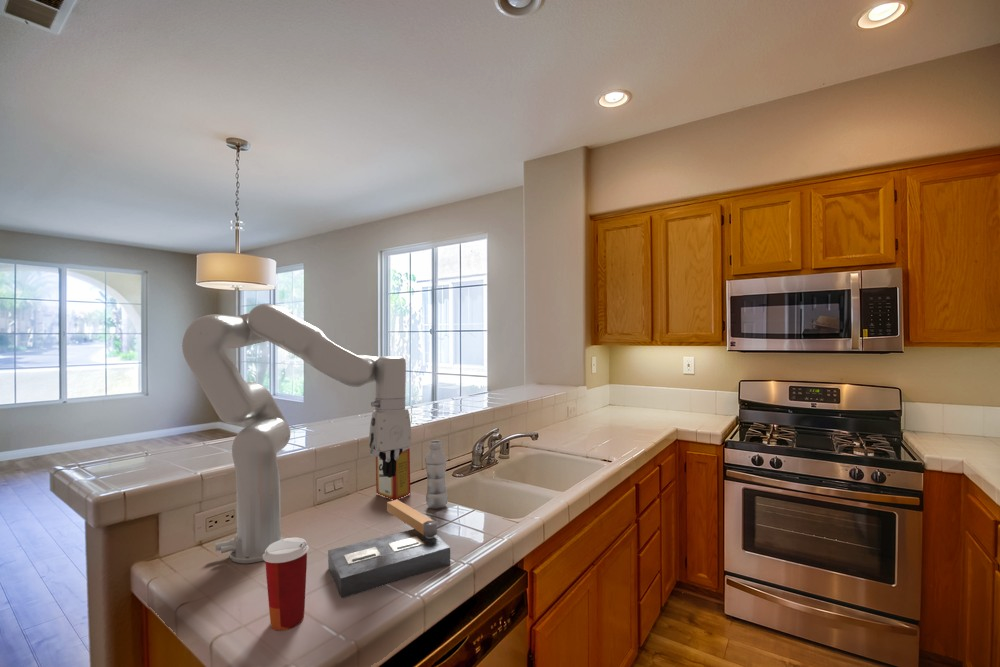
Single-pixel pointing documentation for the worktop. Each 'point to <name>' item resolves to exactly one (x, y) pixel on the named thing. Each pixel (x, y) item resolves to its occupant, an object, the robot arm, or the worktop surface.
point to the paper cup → (286, 581)
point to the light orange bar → (412, 518)
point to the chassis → (385, 560)
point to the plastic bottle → (436, 476)
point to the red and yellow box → (394, 478)
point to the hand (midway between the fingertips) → (389, 475)
